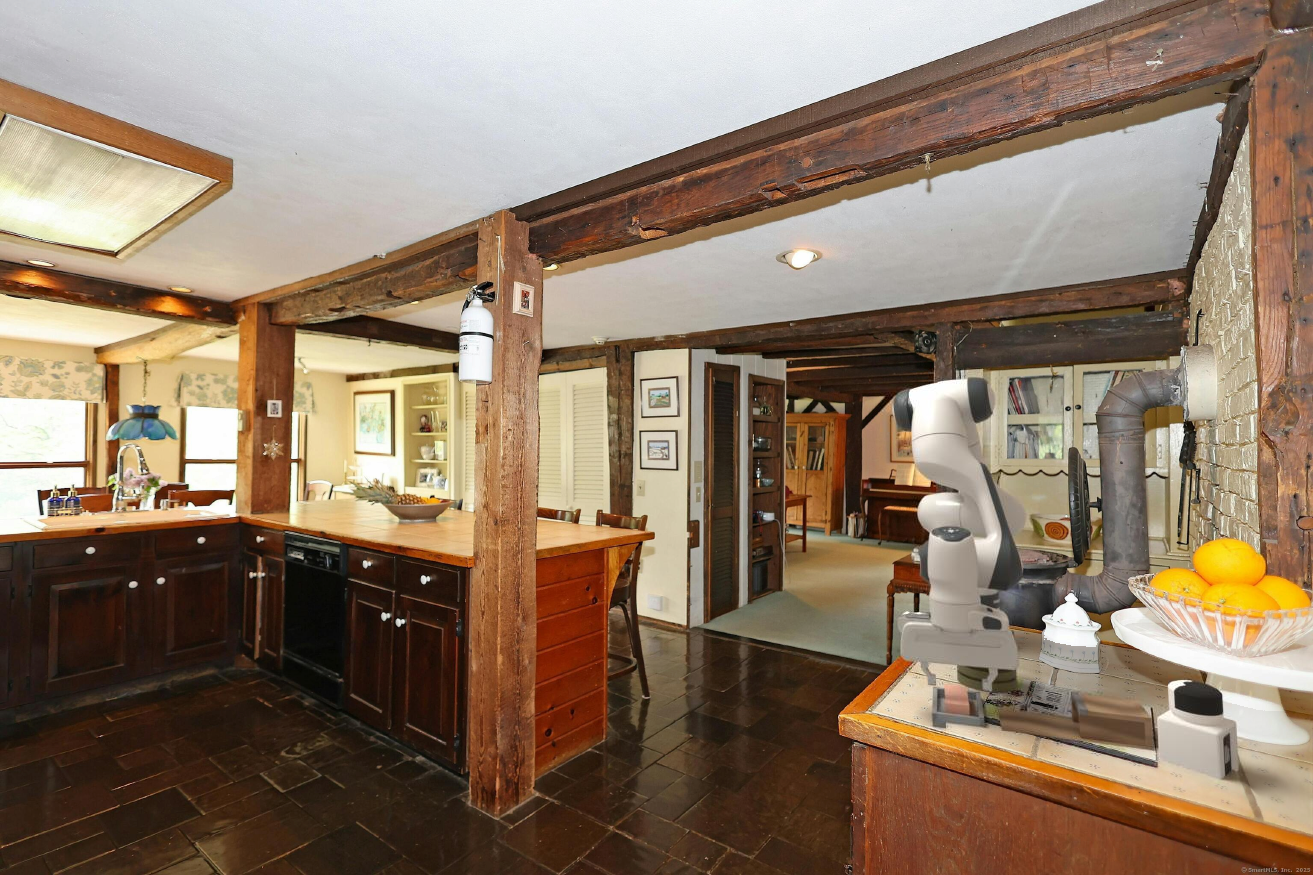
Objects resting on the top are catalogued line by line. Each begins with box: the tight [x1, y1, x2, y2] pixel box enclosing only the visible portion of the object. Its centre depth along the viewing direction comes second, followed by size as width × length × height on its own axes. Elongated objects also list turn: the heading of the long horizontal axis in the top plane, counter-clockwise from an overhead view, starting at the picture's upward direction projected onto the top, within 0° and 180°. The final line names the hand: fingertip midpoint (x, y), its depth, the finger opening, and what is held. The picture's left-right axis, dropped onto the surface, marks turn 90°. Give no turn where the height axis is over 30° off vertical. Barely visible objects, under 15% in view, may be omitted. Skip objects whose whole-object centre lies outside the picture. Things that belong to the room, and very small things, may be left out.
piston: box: [956, 628, 1018, 694], centre depth 134 cm, size 11×12×11 cm
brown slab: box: [996, 691, 1156, 751], centre depth 112 cm, size 10×22×6 cm, turn 66°
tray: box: [931, 686, 986, 729], centre depth 121 cm, size 14×9×2 cm, turn 156°
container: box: [1156, 679, 1240, 780], centre depth 99 cm, size 8×8×13 cm
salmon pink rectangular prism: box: [943, 683, 971, 716], centre depth 121 cm, size 4×10×3 cm, turn 157°
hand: (959, 687), depth 119 cm, fingers open, 8 cm apart
